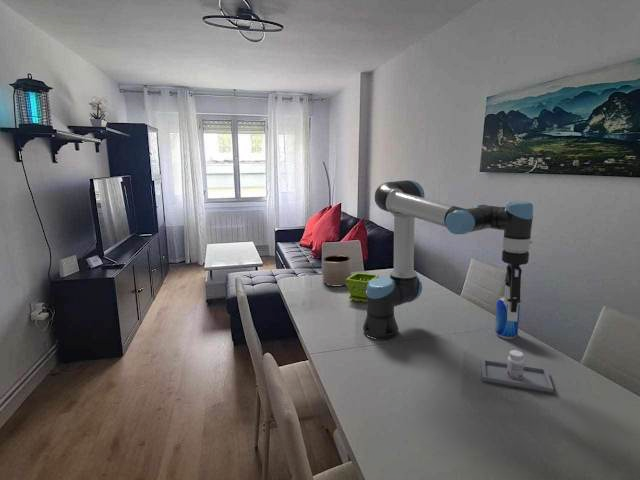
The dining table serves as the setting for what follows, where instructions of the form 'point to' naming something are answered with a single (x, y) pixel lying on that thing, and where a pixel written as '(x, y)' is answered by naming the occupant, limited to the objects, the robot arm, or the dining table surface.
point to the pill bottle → (515, 365)
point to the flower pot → (359, 286)
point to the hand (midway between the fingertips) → (510, 312)
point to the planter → (336, 269)
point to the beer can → (505, 321)
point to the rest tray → (531, 379)
